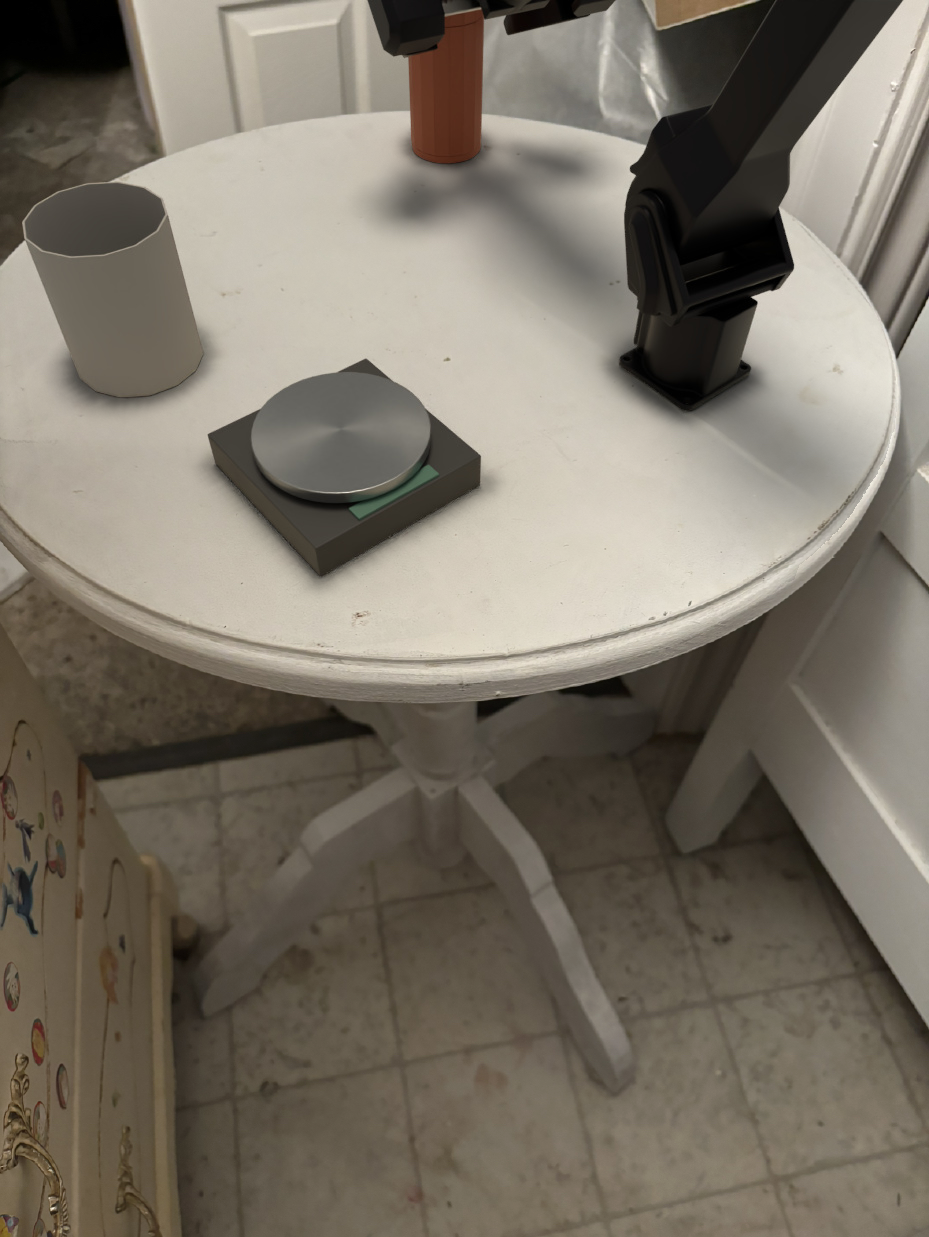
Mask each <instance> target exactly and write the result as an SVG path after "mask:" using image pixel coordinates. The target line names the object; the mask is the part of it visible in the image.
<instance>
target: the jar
mask: <svg viewBox="0 0 929 1237" xmlns="http://www.w3.org/2000/svg"><path fill="white" fill-rule="evenodd" d="M450 1H451V0H450ZM445 2H446V0H445ZM484 39H485V19H484V16H483V13H482V9H481V10H476V11H471V12H466V13H461V14H456V15H451V16H447V17H445V35H444V36H443V38H442V39H441V41H440V42H439V43H437V46H438V48H437V49H436V50H433V51H429V52H425V53H422V54H418V55H415V56H411V57H407V60H408V61H407V62H408V63H407V64H408V89H409V90H408V91H409V114H410V116H409V117H410V120H409V121H410V140H411V149H412V152H414V154H415V155H416V156H418V158H420V159H421V160H424V161H427V162H432V163H437V164H457V163H462V162H466V161H468V160H470V159H473V158H474V157H475V156H477V155H478V154H479V152H480V150H481V147H482V145H481V144H482V128H483V127H482V126H483V124H482V123H483V122H482V120H483V86H484V85H483V84H484V83H483V82H484V81H483V80H484V47H485V46H484Z"/></svg>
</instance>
